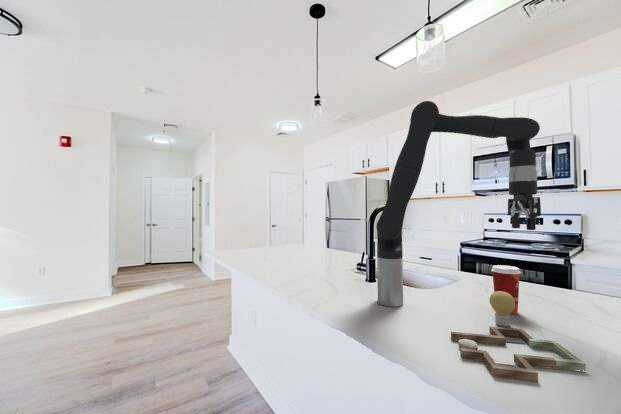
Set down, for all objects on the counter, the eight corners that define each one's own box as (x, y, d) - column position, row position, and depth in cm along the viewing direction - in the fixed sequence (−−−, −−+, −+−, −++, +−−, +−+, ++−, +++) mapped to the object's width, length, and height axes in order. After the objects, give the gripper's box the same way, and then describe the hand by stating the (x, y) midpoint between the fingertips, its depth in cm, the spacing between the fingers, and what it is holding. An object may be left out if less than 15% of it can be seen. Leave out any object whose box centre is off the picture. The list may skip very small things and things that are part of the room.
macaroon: (455, 348, 69) (455, 338, 69) (466, 343, 71) (466, 333, 71) (472, 356, 65) (472, 345, 65) (483, 350, 67) (483, 340, 68)
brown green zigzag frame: (470, 373, 58) (470, 365, 58) (445, 328, 80) (445, 322, 80) (609, 391, 52) (609, 381, 52) (541, 337, 74) (541, 330, 74)
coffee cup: (527, 316, 88) (526, 270, 88) (498, 315, 90) (497, 269, 90) (513, 307, 96) (512, 265, 96) (487, 306, 98) (486, 264, 98)
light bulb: (517, 331, 78) (516, 296, 78) (490, 326, 81) (489, 292, 81) (514, 323, 83) (513, 290, 83) (489, 319, 86) (488, 287, 86)
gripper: (499, 183, 99) (499, 227, 99) (522, 178, 85) (523, 230, 85) (522, 182, 98) (523, 227, 97) (549, 177, 84) (550, 230, 83)
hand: (523, 229), depth 91 cm, fingers open, 8 cm apart
